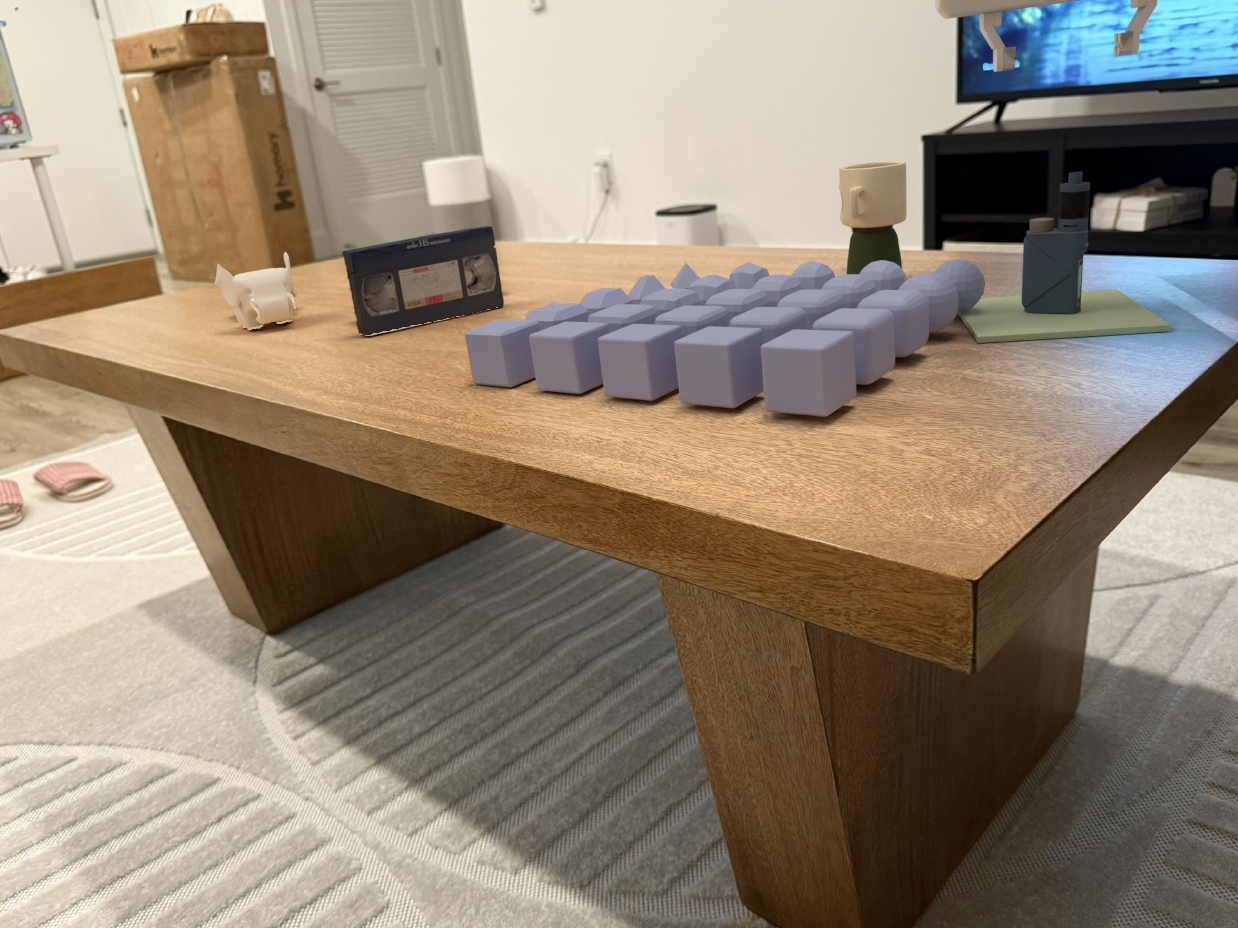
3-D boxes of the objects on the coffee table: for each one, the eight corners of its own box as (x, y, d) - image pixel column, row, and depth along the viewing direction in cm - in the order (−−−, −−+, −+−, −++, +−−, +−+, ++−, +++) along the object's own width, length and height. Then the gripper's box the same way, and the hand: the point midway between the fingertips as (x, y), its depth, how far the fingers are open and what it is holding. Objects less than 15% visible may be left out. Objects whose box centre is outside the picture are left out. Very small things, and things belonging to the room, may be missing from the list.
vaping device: (1080, 315, 86) (1088, 173, 82) (1018, 313, 89) (1022, 176, 85) (1087, 308, 88) (1094, 170, 84) (1025, 307, 91) (1030, 173, 87)
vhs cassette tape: (365, 338, 114) (348, 252, 110) (357, 335, 116) (339, 250, 113) (507, 307, 123) (495, 226, 119) (496, 305, 125) (484, 225, 122)
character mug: (865, 273, 118) (862, 161, 114) (923, 274, 114) (922, 157, 109) (824, 293, 110) (819, 172, 106) (884, 294, 106) (882, 169, 101)
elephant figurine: (244, 340, 121) (227, 268, 118) (221, 329, 130) (204, 261, 127) (320, 324, 125) (305, 254, 122) (292, 314, 135) (278, 249, 132)
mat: (1115, 295, 94) (1116, 288, 94) (1169, 331, 81) (1170, 324, 80) (952, 306, 97) (952, 300, 97) (977, 343, 84) (977, 336, 83)
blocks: (471, 384, 89) (462, 331, 87) (684, 301, 114) (679, 258, 112) (827, 418, 68) (823, 348, 66) (992, 306, 93) (992, 254, 91)
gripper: (1201, -142, 78) (1187, 47, 83) (931, -99, 82) (932, 79, 87) (1233, -159, 72) (1216, 45, 77) (941, -112, 76) (942, 79, 81)
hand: (1064, 63), depth 82 cm, fingers open, 8 cm apart
